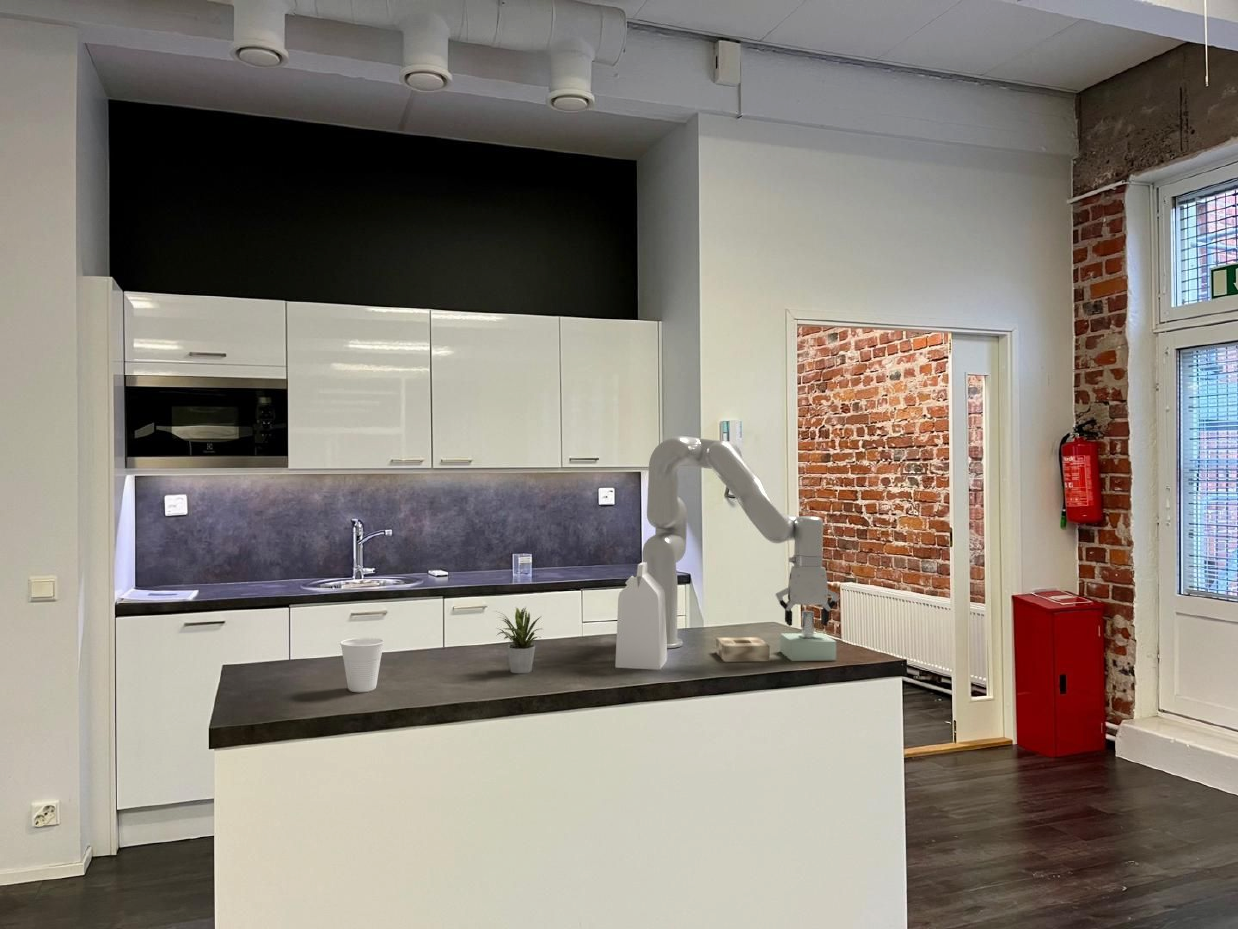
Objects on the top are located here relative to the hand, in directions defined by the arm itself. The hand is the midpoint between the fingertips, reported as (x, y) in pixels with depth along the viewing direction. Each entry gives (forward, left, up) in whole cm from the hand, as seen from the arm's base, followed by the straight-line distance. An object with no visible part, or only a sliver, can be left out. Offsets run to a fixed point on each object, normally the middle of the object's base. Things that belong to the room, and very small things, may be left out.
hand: (806, 624), depth 260 cm
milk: (-46, -7, -9) cm, 47 cm away
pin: (0, 0, -8) cm, 8 cm away
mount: (-18, 0, -8) cm, 20 cm away
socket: (0, 0, -8) cm, 8 cm away
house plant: (-78, -13, -9) cm, 79 cm away
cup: (-113, -31, -9) cm, 117 cm away
